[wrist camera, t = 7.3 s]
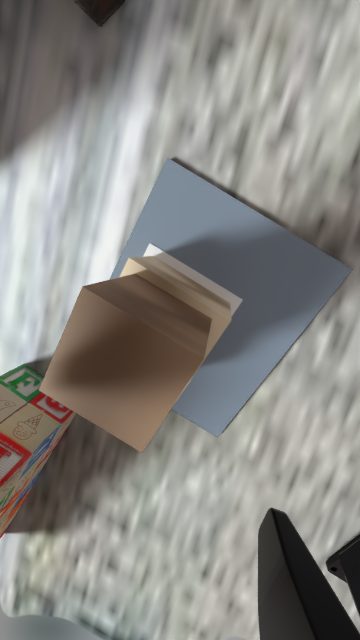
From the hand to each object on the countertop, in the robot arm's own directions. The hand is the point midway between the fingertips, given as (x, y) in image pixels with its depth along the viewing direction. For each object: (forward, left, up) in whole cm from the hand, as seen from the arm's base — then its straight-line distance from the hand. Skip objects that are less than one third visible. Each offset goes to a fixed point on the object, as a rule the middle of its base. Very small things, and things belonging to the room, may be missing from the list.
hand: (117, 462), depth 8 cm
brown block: (+2, -1, -7) cm, 7 cm away
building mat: (0, -2, -12) cm, 12 cm away
